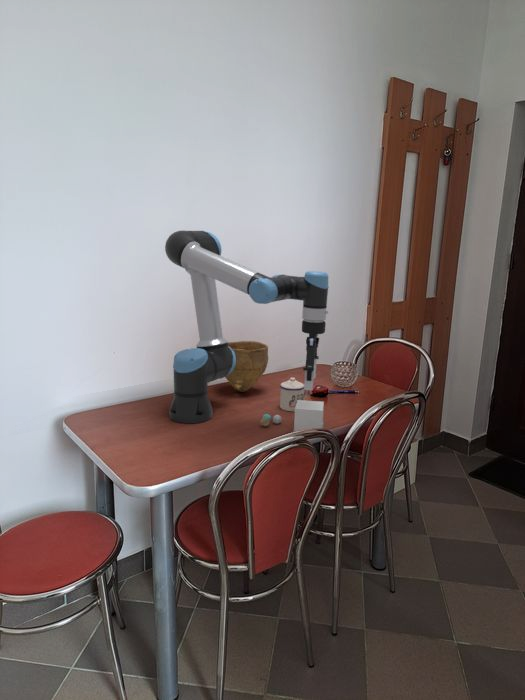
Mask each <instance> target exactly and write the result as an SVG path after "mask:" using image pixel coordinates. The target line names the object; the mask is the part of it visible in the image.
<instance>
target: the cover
mask: <svg viewBox="0 0 525 700" xmlns="http://www.w3.org/2000/svg"><path fill="white" fill-rule="evenodd" d="M324 405H325V401H320V400H319V401H318V400H317V401H316V400H305V399H303V400H297V403H296V407H295V411H294V421H293V422H294V426H293V429H294V431H298V430H304V429H312V428H322V426H323V424H324V411H325V410H324V409H325V408H324V407H325V406H324Z"/></svg>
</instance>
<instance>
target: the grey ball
mask: <svg viewBox="0 0 525 700" xmlns="http://www.w3.org/2000/svg"><path fill="white" fill-rule="evenodd" d="M272 421H273V423H274V424H280V423H281V422H282V416H281V415H280V414H275V415H274V416H273V417H272Z"/></svg>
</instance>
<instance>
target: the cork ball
mask: <svg viewBox="0 0 525 700" xmlns="http://www.w3.org/2000/svg"><path fill="white" fill-rule="evenodd" d="M270 423H271V421H269V419H268V418H263V417H262V419H261V420H260V424H261V426H263V427H268V426H269V425H270Z"/></svg>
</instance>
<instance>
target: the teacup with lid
mask: <svg viewBox="0 0 525 700" xmlns="http://www.w3.org/2000/svg"><path fill="white" fill-rule="evenodd" d="M279 387H280V394H279V395H280V400H279V407H280V409H281V410H282V411H288V412H295V407H296V403H297V400H305V399H306V397H307V394H308V390H304V383H303V382H300V381H298V380H296V377H290V378H289V379H288V380H286V381H283V382H281V383H280V385H279Z"/></svg>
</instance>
